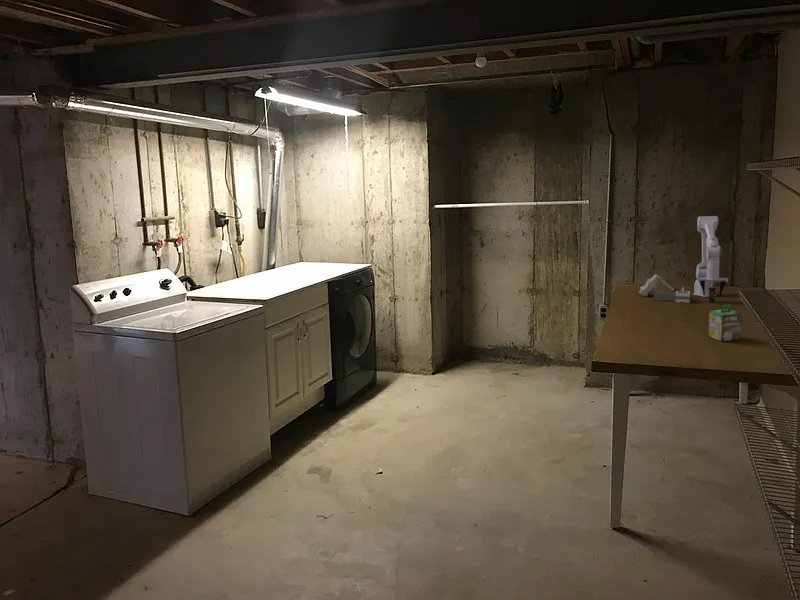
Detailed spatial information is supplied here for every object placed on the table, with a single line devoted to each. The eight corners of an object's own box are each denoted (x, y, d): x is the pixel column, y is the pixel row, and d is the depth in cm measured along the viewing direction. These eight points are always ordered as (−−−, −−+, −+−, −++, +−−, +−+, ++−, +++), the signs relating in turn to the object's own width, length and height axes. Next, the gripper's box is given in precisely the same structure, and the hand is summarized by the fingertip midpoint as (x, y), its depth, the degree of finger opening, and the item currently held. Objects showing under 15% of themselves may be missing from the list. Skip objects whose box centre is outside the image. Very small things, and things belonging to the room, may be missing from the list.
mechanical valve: (637, 289, 372) (656, 269, 366) (662, 308, 370) (681, 289, 364) (637, 293, 363) (656, 274, 356) (662, 313, 361) (682, 294, 355)
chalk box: (726, 335, 273) (728, 301, 271) (741, 340, 264) (743, 305, 262) (707, 336, 272) (708, 302, 269) (721, 342, 263) (722, 306, 260)
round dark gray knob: (706, 301, 341) (706, 287, 340) (712, 301, 342) (712, 286, 341) (711, 303, 337) (712, 288, 336) (717, 302, 338) (717, 287, 337)
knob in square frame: (654, 295, 364) (655, 286, 363) (689, 296, 357) (689, 287, 356) (653, 301, 348) (653, 292, 347) (689, 302, 341) (690, 293, 340)
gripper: (698, 270, 336) (697, 296, 338) (728, 271, 330) (727, 296, 332) (697, 268, 342) (696, 293, 345) (728, 269, 336) (727, 294, 339)
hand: (712, 295), depth 339 cm, fingers open, 7 cm apart
